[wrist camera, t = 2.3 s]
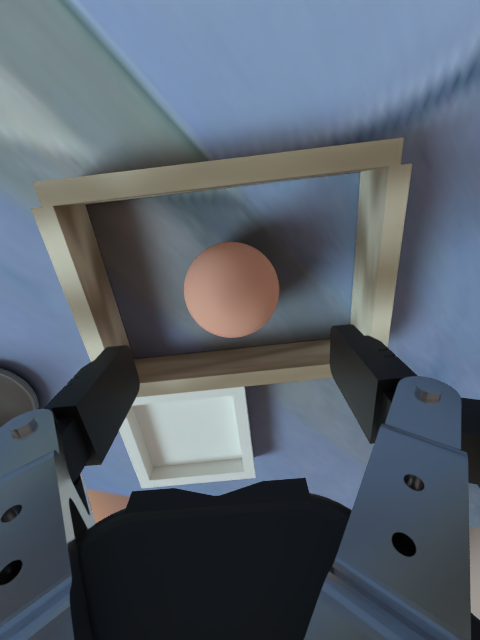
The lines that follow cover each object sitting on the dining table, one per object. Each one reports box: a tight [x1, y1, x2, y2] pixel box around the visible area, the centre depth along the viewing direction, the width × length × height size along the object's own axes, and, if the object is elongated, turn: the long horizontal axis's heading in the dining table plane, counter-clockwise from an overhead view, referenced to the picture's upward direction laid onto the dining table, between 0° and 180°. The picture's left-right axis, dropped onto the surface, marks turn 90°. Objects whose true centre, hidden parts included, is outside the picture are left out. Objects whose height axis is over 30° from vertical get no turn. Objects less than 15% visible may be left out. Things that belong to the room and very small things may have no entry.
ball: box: [184, 242, 279, 338], centre depth 17 cm, size 6×6×6 cm
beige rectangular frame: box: [31, 137, 412, 397], centre depth 18 cm, size 14×20×4 cm
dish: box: [119, 387, 256, 488], centre depth 25 cm, size 11×11×2 cm
